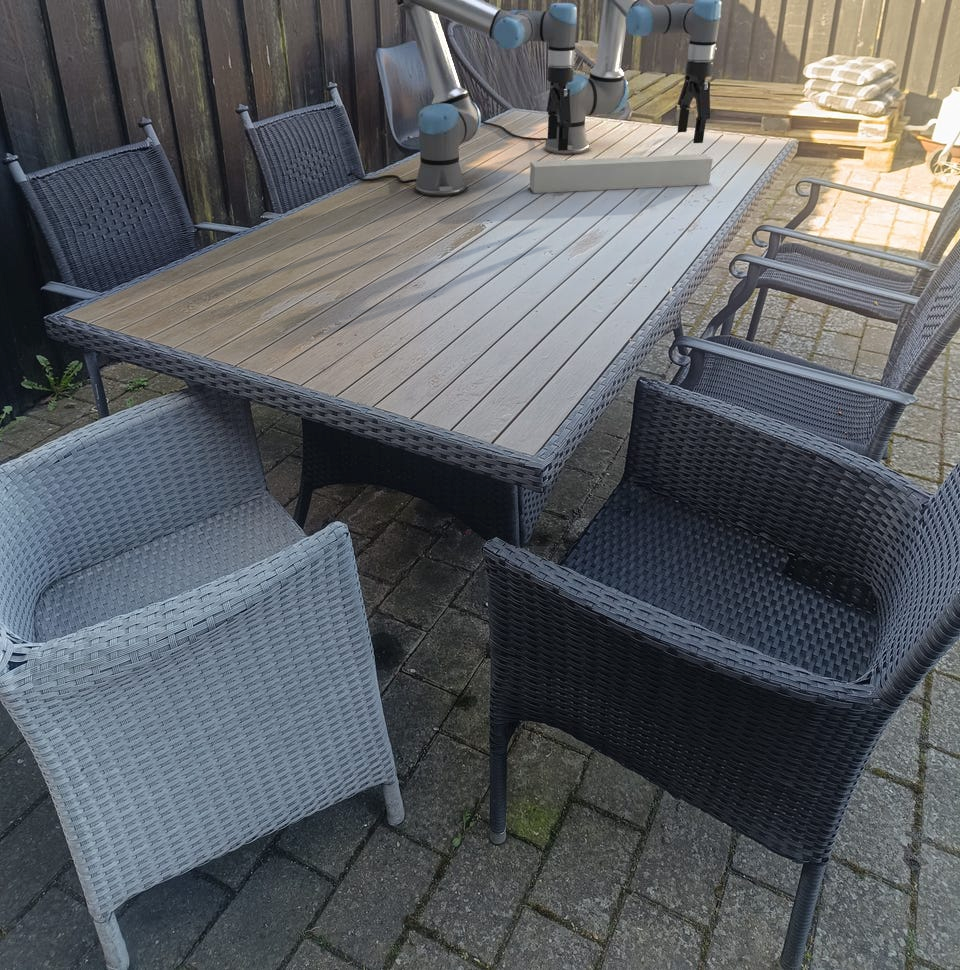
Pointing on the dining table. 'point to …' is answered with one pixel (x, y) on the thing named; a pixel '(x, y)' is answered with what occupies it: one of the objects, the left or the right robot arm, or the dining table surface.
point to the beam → (620, 173)
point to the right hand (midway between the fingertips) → (689, 137)
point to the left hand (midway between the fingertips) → (557, 144)
